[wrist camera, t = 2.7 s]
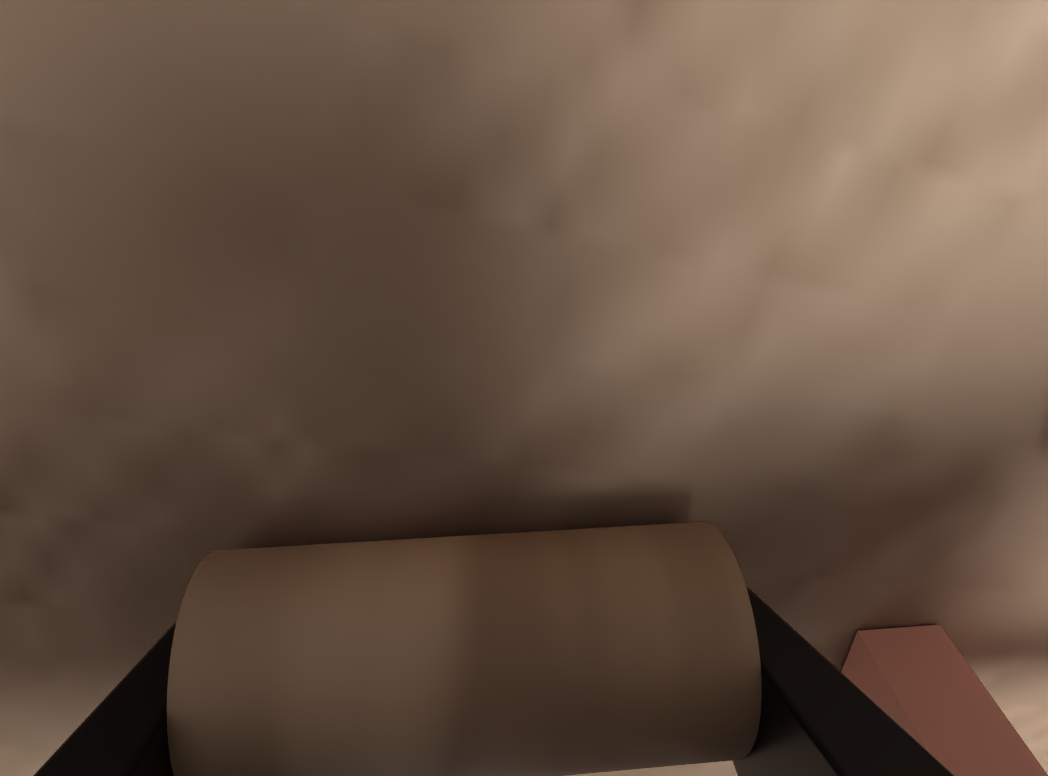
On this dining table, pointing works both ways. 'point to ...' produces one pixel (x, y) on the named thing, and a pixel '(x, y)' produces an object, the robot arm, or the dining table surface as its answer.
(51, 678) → the dining table surface
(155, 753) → the robot arm
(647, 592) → the roller
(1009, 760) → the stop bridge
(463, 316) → the dining table surface
